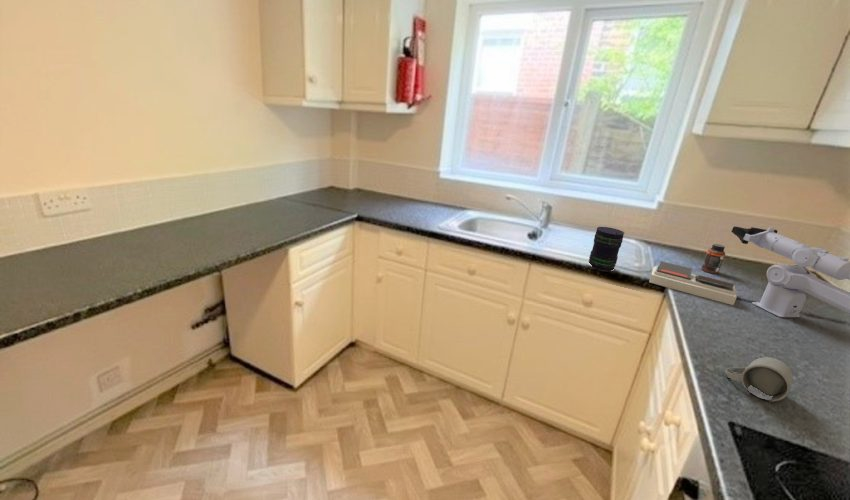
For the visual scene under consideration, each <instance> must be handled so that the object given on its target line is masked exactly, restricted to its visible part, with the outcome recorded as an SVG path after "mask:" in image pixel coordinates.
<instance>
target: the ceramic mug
mask: <svg viewBox="0 0 850 500" xmlns="http://www.w3.org/2000/svg"><path fill="white" fill-rule="evenodd" d="M733 372H738V373H741V374H733ZM726 375H727V376H728V377H729V378H731V379H732V380H731V381H733V380H734V381H733V382H738V383H741V384H742V386H743V388H744V389H745V388H746V389H748V387H749V386H750V385H752V386H753V387H755V388H757V389H758V390H760V391H761V392H763V393H765V394H766V395H769V396H773V397H772V399H771V400H772V401H771V402H778V401H781V400H783V399H785V398H786V397H787V396H788V395H789V393H790V390H791V387H792V383H793V379H794V378H793V374H792V370H791V369H790V367H789V366H788V365H787V364H786V363H784V362H783V361H782V360H780V359H778V358H774V357H769V356H768V357H767V356H764V357H759V358H757V359H754V360H753V361H751V362H750V364H749V365H748V366H747V367H746V366H745V367H742V366H734V367H729V368H727V369H725V376H726ZM746 389H745V390H746Z"/></svg>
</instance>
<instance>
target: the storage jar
mask: <svg viewBox="0 0 850 500" xmlns="http://www.w3.org/2000/svg"><path fill="white" fill-rule="evenodd" d="M624 236H625V232H624V231H622V230H620V229H617V228H614V227H608V226H597V227H596V231H595V234H594V238H593V245H592V250H591V251H590V255H589V259H588V262H589V263H590V264H591V265H592V267H594V268H593V269H595V270H597V269H598V270H597V271H601V272H608V271H610V272H612V271H611V270H613V269H614V268H615V267H616V265H617V263H618V262H617V261H618V260H619V259H618V258H619V256H618V255H619V251H620V248H621V247H622V244H623V240H624ZM592 267H591V268H592ZM614 270H615V269H614Z"/></svg>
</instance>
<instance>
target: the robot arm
mask: <svg viewBox="0 0 850 500" xmlns="http://www.w3.org/2000/svg"><path fill="white" fill-rule="evenodd" d="M731 233H733V235H735V236H736V237H738V238H739V240H740V243H742V244H743V245H747V244H748V243H749V242H750V243H753V244H754V245H755V246H757V247H759V248H763V249H766V250H768V251H770V252H773V253H775V254H777V255H779V256H782V257H785V258H787V259H789V260H792V261H793V262H794V264H792V265H791V264H788V265H787V264H774V265H770V266H769V267H768V269H767V271H766V278H767V282H768V283H767V285H766V288H765V290H764V292H763V295H762V297H761V299H760V301H753V302H751V304H753V305H754V306H757V307H758V308H761V309H762V310H765V311H766V312H769V313H771V314H773V315H775V316H777V317H779V318H800V316H801V315H800V313H801V311H802V309H803V307H804V304H805V302H806V300H807V295H806V294H808V295H811V296H812V297H814V298H816V299H818V300H820V301H822V302H824V303H827V304H829V305H830V306H833V307H835V308H837V309H839V310H840V311H843V312H845V313H847V314H849V315H850V292H849V291H848V290H845V289H843V288H840V287H838V286H837V285H834V284H832V283H830V282H827V281H825V280H823V279H821V278H819V277H817V275H816V274H815V273H812V271H810V270H809V269H808V268H807V267H809V268H810V267H811V268H812V269H813V270H815V271H816V272H817V271H818V273H819V272H820V273H821V274H824V275H826V276H829V277H830V278H833V279H835V280H838V281H843V280H849V281H850V261H849V260H850V259H849V258H848V257H846V256H840V257H839V256H837V255H834V254H831V253H830V252H829V251H828V250H825V249H824V248H823V247H821V246H814V247H811V246H810V245H807V244H804V243H802V242H800V241H797V240H795V239H792V238H790V237H787V236H785V235H783V234H779V233H778V230H777V229H775V228H773V227H768V228H767V229H764V228H758V227H753V226H752V227H750V228H745V227H740V226H735V225H734V226H733V227H732V229H731ZM805 293H806V294H805Z"/></svg>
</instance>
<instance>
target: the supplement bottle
mask: <svg viewBox="0 0 850 500" xmlns="http://www.w3.org/2000/svg"><path fill="white" fill-rule="evenodd" d="M725 248H726V247H725V246H724V245H723V244H718V243H713V244H712V246H711V248H708V249H707V251H706V254H705V256H704V259H703V262H702V265H701V270H702V271H703V272H706V273H708V274H715V275H716V274H718V273H719V272H720V270H721V267H722V265H723V261H724V258H725V256H726V252H725Z"/></svg>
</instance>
